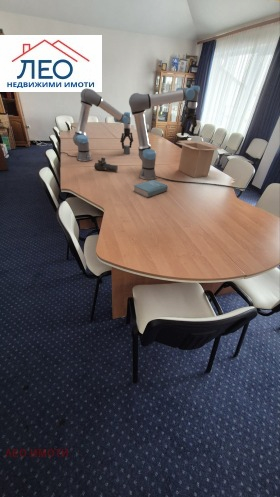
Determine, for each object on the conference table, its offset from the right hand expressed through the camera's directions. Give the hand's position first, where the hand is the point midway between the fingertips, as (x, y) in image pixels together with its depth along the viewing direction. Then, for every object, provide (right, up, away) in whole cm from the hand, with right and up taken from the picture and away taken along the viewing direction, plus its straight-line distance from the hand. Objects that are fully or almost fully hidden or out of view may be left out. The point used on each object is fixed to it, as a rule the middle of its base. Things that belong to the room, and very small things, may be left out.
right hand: (187, 135), depth 203 cm
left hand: (-60, +18, +66) cm, 91 cm away
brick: (-60, +13, +70) cm, 93 cm away
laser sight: (-77, -29, +11) cm, 83 cm away
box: (+10, -27, +22) cm, 37 cm away
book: (-35, -58, -24) cm, 72 cm away
